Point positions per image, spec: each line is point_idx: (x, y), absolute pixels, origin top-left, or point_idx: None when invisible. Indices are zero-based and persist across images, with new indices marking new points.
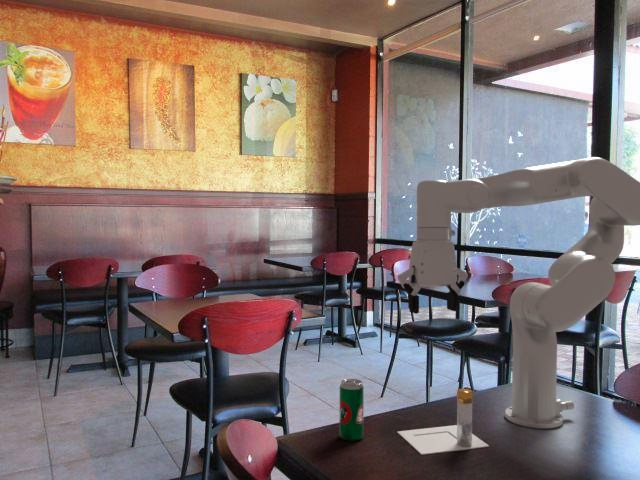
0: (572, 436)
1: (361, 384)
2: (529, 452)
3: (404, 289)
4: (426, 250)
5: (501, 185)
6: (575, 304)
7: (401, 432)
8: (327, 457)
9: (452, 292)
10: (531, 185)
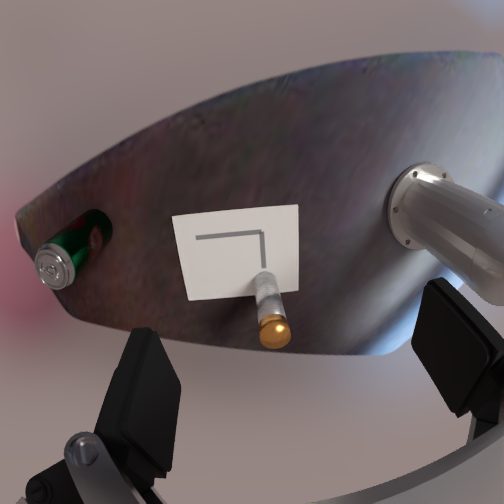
0: (419, 272)
1: (69, 277)
2: (337, 309)
3: (56, 474)
4: None
5: None
6: None
7: (177, 222)
8: None
9: (471, 404)
10: None
